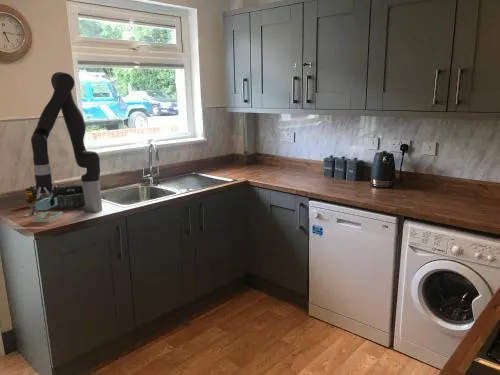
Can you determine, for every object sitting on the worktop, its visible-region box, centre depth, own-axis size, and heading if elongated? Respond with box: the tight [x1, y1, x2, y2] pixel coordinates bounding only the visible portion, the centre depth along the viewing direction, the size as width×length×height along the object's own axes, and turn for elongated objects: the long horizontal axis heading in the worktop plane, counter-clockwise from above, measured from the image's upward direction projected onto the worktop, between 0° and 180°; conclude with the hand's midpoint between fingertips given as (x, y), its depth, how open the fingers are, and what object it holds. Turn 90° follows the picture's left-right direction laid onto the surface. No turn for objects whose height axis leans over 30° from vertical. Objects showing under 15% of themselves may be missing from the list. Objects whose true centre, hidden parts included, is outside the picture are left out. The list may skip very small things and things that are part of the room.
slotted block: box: [35, 197, 58, 211], centre depth 212 cm, size 11×6×4 cm, turn 177°
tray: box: [31, 211, 64, 223], centre depth 214 cm, size 14×9×2 cm, turn 176°
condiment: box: [24, 186, 37, 209], centre depth 238 cm, size 7×8×12 cm
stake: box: [22, 204, 45, 217], centre depth 222 cm, size 8×8×6 cm
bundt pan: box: [45, 184, 84, 211], centre depth 240 cm, size 26×26×10 cm
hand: (46, 205), depth 213 cm, fingers closed on slotted block, 5 cm apart
